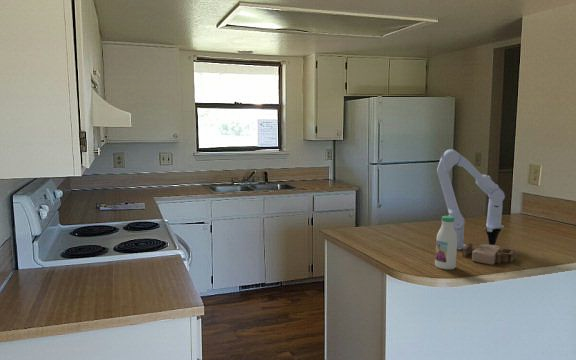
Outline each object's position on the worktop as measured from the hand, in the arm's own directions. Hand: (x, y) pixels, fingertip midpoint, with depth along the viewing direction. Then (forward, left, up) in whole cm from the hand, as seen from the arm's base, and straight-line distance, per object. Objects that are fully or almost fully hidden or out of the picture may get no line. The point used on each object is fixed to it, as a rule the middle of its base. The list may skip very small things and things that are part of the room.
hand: (492, 244), depth 198 cm
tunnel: (+2, -13, -2) cm, 14 cm away
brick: (+1, -15, -3) cm, 16 cm away
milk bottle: (-8, -37, -2) cm, 38 cm away
